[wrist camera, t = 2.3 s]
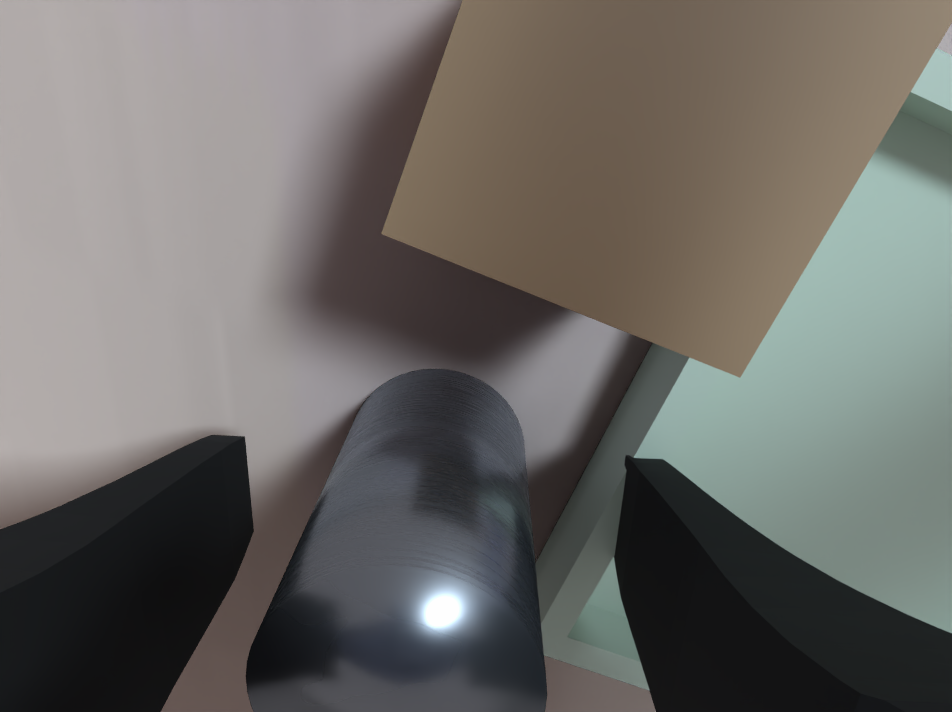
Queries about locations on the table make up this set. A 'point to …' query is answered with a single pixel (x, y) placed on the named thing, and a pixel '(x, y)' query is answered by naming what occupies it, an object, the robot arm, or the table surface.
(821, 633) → the robot arm
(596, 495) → the tray
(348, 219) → the table surface
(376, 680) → the peg
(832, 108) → the block
